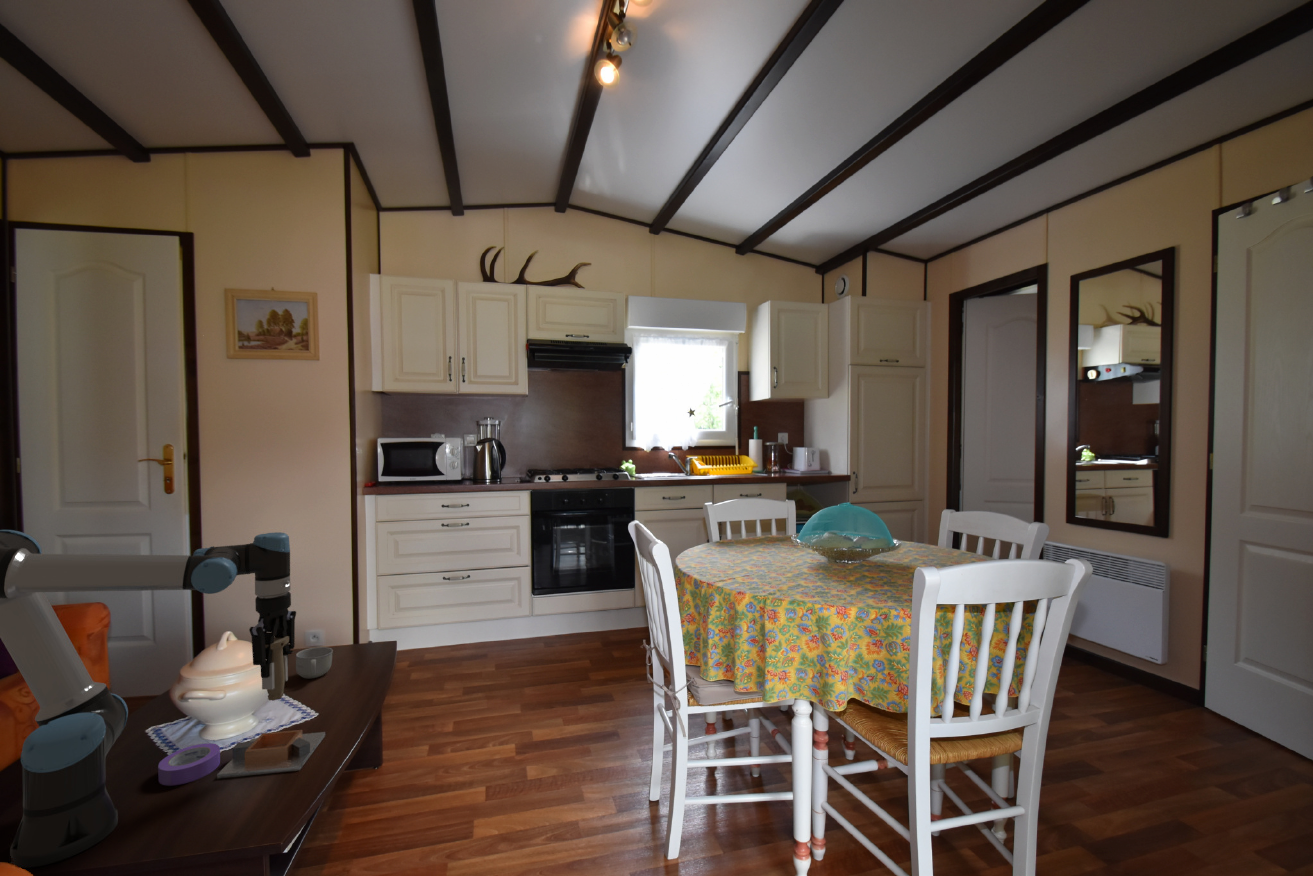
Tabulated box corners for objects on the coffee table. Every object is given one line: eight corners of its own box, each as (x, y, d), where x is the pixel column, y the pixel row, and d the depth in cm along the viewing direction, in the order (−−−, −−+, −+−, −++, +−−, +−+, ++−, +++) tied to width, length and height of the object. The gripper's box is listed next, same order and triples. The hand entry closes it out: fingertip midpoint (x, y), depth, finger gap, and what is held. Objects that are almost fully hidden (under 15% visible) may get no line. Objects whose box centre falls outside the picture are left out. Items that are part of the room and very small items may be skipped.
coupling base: (217, 778, 135) (216, 762, 135) (251, 742, 151) (251, 727, 151) (299, 770, 138) (299, 754, 138) (325, 735, 154) (325, 721, 154)
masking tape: (144, 786, 132) (144, 770, 132) (186, 757, 144) (186, 742, 144) (193, 786, 132) (193, 770, 132) (231, 757, 144) (231, 742, 144)
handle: (256, 703, 142) (255, 644, 142) (279, 691, 148) (278, 635, 148) (271, 705, 141) (270, 645, 140) (294, 693, 147) (293, 636, 147)
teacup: (301, 670, 196) (301, 647, 196) (336, 666, 199) (336, 644, 199) (288, 688, 183) (288, 663, 182) (326, 683, 186) (325, 659, 186)
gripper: (261, 604, 135) (264, 701, 136) (309, 584, 152) (311, 670, 153) (232, 604, 136) (234, 700, 136) (283, 584, 153) (285, 669, 153)
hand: (275, 684), depth 144 cm, fingers closed on handle, 4 cm apart
